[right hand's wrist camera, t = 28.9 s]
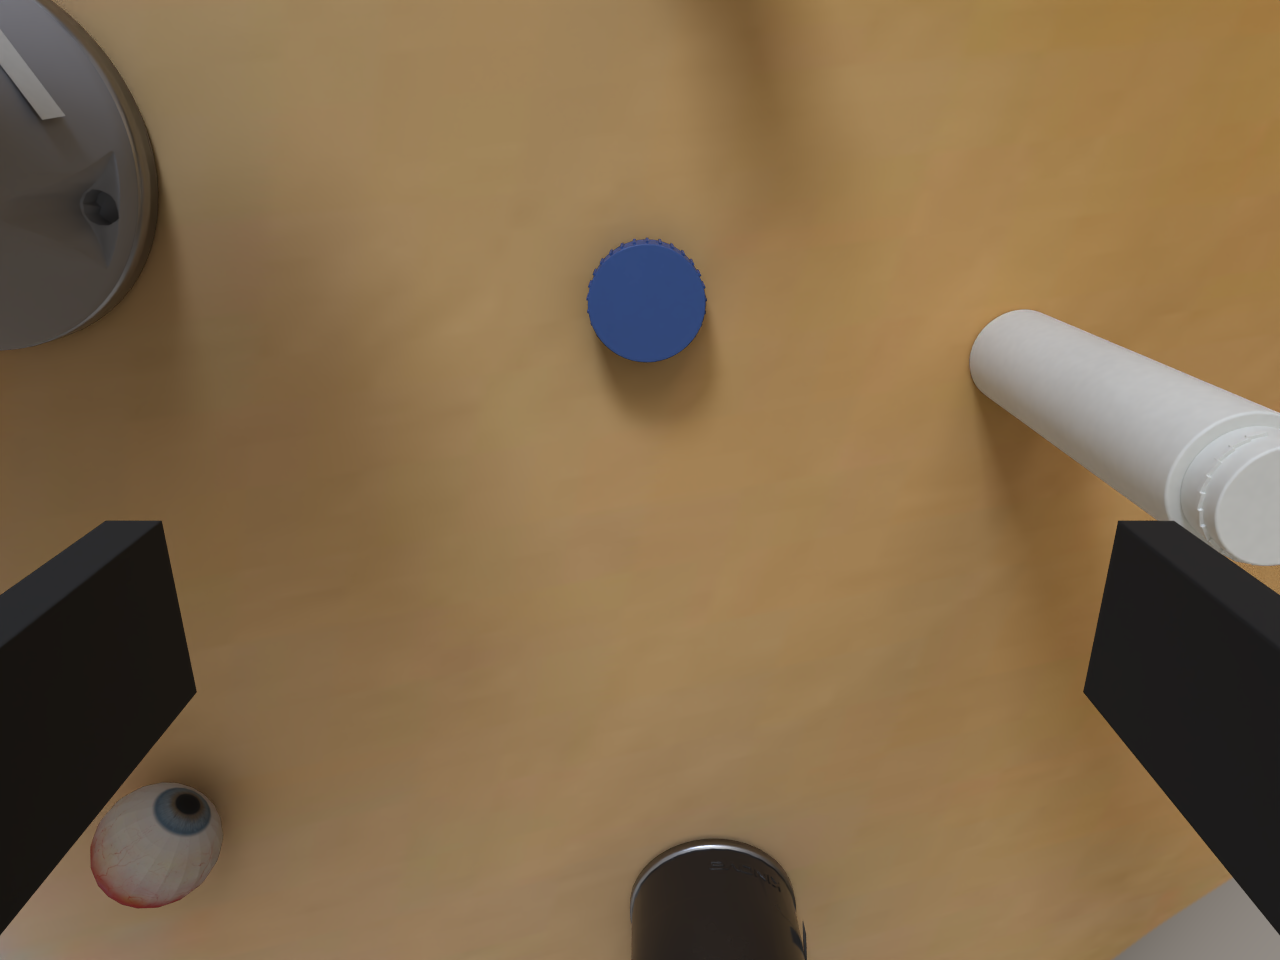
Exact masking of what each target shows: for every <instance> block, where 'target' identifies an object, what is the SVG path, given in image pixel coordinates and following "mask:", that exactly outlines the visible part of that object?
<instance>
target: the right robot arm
mask: <svg viewBox="0 0 1280 960" xmlns="http://www.w3.org/2000/svg"><path fill="white" fill-rule="evenodd" d="M157 213H158V184H157V172H156V167H155V161H154V155H153V151H152V147H151V143H150V140H149V136H148V133H147V130H146V127H145V124H144V122H143V119H142V116H141V114H140V112H139V109H138V107H137V105H136V103H135V101H134V98H133V96H132V95H131V93H130V91H129V89H128V87H127V86H126V84H125V82H124V80H123V78H122V77H121V75H120V74H119V72H118V71H117V69H116V68H115V66H114V65H113V63H112V62H111V60H110V59H109V58H108V57H107V55H106V54H105V53H104V51H103V50H102V49H101V48H100V46H99V45H98V44H97V43H96V41H95V40H94V39H93V38H92V37H91V36H90V35H89V34H88V33H87V32H86V31H85V30H84V28H83V27H82V26H81V25H79V24H78V23H77V22H76V21H75V20H74V19H73V18H72V17H71V16H70V15H69V14H68V13H67V12H65V11H64V10H63V9H62V8H60V7H59V6H58V5H57V4H55V3H54V2H53V1H51V0H0V350H11V349H20V348H25V347H30V346H35V345H39V344H42V343H45V342H48V341H51V340H54V339H57V338H60V337H63V336H66V335H69V334H72V333H74V332H76V331H79V330H81V329H83V328H85V327H87V326H89V325H90V324H92V323H94V322H96V321H97V320H99V319H100V318H101V317H103V316H104V315H105V314H107V313H108V312H109V311H111V310H112V309H113V308H114V307H115V306H116V305H117V304H118V303H119V302H120V301H121V300H122V299H123V297H124V296H125V295H126V294H127V293H128V291H129V290H130V289H131V287H132V286H133V284H134V283H135V281H136V280H137V278H138V276H139V275H140V273H141V271H142V269H143V266H144V264H145V262H146V260H147V257H148V254H149V252H150V249H151V246H152V242H153V238H154V233H155V229H156V221H157ZM196 692H197V691H196V687H195V682H194V677H193V672H192V667H191V662H190V657H189V652H188V647H187V642H186V638H185V633H184V628H183V623H182V618H181V613H180V608H179V603H178V598H177V593H176V589H175V584H174V579H173V574H172V569H171V564H170V559H169V554H168V549H167V544H166V540H165V535H164V530H163V525H162V521H105V522H103V523H102V524H101V525H99V526H98V527H96V528H95V529H93V530H92V531H91V532H89V533H88V534H86V535H85V536H84V537H82V538H81V539H79V540H78V541H76V542H75V543H74V544H72V545H71V546H69V547H68V548H67V549H65V550H64V551H62V552H61V553H59V554H58V555H57V556H55V557H54V558H52V559H51V560H50V561H48V562H47V563H45V564H44V565H42V566H41V567H40V568H38V569H37V570H35V571H34V572H33V573H31V574H30V575H28V576H27V577H25V578H24V579H23V580H21V581H20V582H18V583H17V584H16V585H14V586H13V587H11V588H10V589H8V590H7V591H6V592H4V593H3V594H1V595H0V935H1V933H2V932H3V931H4V930H5V929H6V927H7V926H8V925H9V924H10V922H11V921H12V920H13V919H14V917H15V916H16V915H17V914H18V912H19V911H20V910H21V909H22V908H23V906H24V905H25V904H26V903H27V901H28V900H29V899H30V898H31V896H32V895H33V894H34V893H35V891H36V890H37V889H38V888H39V886H40V885H41V884H42V883H43V882H44V880H45V879H46V878H47V877H48V875H49V874H50V873H51V872H52V870H53V869H54V868H55V867H56V865H57V864H58V863H59V862H60V861H61V859H62V858H63V857H64V856H65V854H66V853H67V852H68V851H69V849H70V848H71V847H72V846H73V844H74V843H75V842H76V841H77V839H78V838H79V837H80V836H81V835H82V833H83V832H84V831H85V830H86V828H87V827H88V826H89V825H90V823H91V822H92V821H93V820H94V818H95V817H96V816H97V815H98V814H99V812H100V811H101V810H102V809H103V807H104V806H105V805H106V804H107V802H108V801H109V800H110V799H111V797H112V796H113V795H114V794H115V793H116V791H117V790H118V789H119V788H120V786H121V785H122V784H123V783H124V781H125V780H126V779H127V778H128V776H129V775H130V774H131V773H132V771H133V770H134V769H135V768H136V767H137V765H138V764H139V763H140V762H141V760H142V759H143V758H144V757H145V755H146V754H147V753H148V752H149V750H150V749H151V748H152V747H153V746H154V744H155V743H156V742H157V741H158V739H159V738H160V737H161V736H162V734H163V733H164V732H165V731H166V729H167V728H168V727H169V726H170V724H171V723H172V722H173V721H174V720H175V718H176V717H177V716H178V715H179V713H180V712H181V711H182V710H183V708H184V707H185V706H186V705H187V703H188V702H189V701H190V700H191V699H192V697H193V696H194V695H195V694H196ZM1083 692H1084V694H1085V695H1086V696H1087V697H1088V699H1089V700H1090V701H1091V702H1092V703H1093V705H1094V706H1095V707H1096V708H1097V710H1098V711H1099V712H1100V713H1101V715H1102V716H1103V717H1104V718H1105V720H1106V721H1107V722H1108V723H1109V724H1110V726H1111V727H1112V728H1113V729H1114V731H1115V732H1116V733H1117V734H1118V736H1119V737H1120V738H1121V739H1122V741H1123V742H1124V743H1125V744H1126V746H1127V747H1128V748H1129V749H1130V750H1131V752H1132V753H1133V754H1134V755H1135V757H1136V758H1137V759H1138V760H1139V762H1140V763H1141V764H1142V765H1143V767H1144V768H1145V769H1146V770H1147V771H1148V773H1149V774H1150V775H1151V776H1152V778H1153V779H1154V780H1155V781H1156V783H1157V784H1158V785H1159V786H1160V788H1161V789H1162V790H1163V791H1164V793H1165V794H1166V795H1167V796H1168V797H1169V799H1170V800H1171V801H1172V802H1173V804H1174V805H1175V806H1176V807H1177V809H1178V810H1179V811H1180V812H1181V814H1182V815H1183V816H1184V817H1185V818H1186V820H1187V821H1188V822H1189V823H1190V825H1191V826H1192V827H1193V828H1194V830H1195V831H1196V832H1197V833H1198V835H1199V836H1200V837H1201V838H1202V839H1203V841H1204V842H1205V843H1206V844H1207V846H1208V847H1209V848H1210V849H1211V851H1212V852H1213V853H1214V854H1215V856H1216V857H1217V858H1218V859H1219V861H1220V862H1221V863H1222V864H1223V865H1224V867H1225V868H1226V869H1227V870H1228V872H1229V873H1230V874H1231V875H1232V877H1233V878H1234V879H1235V880H1236V882H1237V883H1238V884H1239V885H1240V886H1241V888H1242V889H1243V890H1244V891H1245V893H1246V894H1247V895H1248V896H1249V898H1250V899H1251V900H1252V901H1253V903H1254V904H1255V905H1256V906H1257V908H1258V909H1259V910H1260V911H1261V912H1262V914H1263V915H1264V916H1265V917H1266V919H1267V920H1268V921H1269V922H1270V924H1271V925H1272V926H1273V927H1274V929H1275V930H1276V931H1277V932H1278V933H1279V935H1280V595H1279V594H1277V593H1276V592H1274V591H1273V590H1272V589H1270V588H1269V587H1267V586H1266V585H1264V584H1263V583H1262V582H1260V581H1259V580H1257V579H1256V578H1255V577H1253V576H1252V575H1250V574H1249V573H1247V572H1246V571H1245V570H1243V569H1242V568H1240V567H1239V566H1238V565H1236V564H1235V563H1233V562H1232V561H1230V560H1229V559H1228V558H1226V557H1225V556H1223V555H1222V554H1221V553H1219V552H1218V551H1216V550H1215V549H1213V548H1212V547H1211V546H1209V545H1208V544H1206V543H1205V542H1204V541H1202V540H1201V539H1199V538H1198V537H1196V536H1195V535H1194V534H1192V533H1191V532H1189V531H1188V530H1187V529H1185V528H1184V527H1182V526H1181V525H1179V524H1178V523H1177V522H1175V521H1118V525H1117V530H1116V535H1115V540H1114V544H1113V549H1112V554H1111V559H1110V564H1109V569H1108V574H1107V579H1106V584H1105V589H1104V593H1103V598H1102V603H1101V608H1100V613H1099V618H1098V623H1097V628H1096V633H1095V638H1094V642H1093V647H1092V652H1091V657H1090V662H1089V667H1088V672H1087V677H1086V682H1085V687H1084V691H1083Z"/></svg>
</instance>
